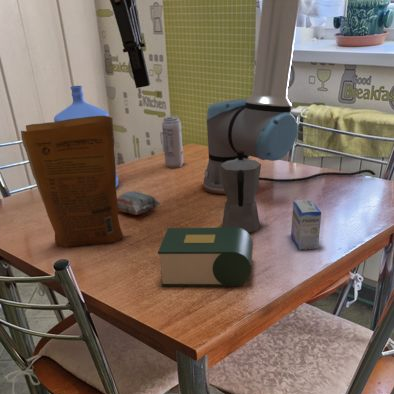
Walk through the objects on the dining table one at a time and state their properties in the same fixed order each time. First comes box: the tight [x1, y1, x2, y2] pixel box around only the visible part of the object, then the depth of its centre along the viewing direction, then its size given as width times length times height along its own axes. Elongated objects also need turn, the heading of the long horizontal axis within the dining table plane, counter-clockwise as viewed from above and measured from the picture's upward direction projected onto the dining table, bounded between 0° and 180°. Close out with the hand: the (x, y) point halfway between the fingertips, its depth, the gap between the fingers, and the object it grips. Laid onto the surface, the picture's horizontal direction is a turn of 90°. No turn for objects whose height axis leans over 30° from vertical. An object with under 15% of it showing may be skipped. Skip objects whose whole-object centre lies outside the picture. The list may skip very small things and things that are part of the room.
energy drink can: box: [161, 115, 184, 169], centre depth 169 cm, size 6×6×15 cm
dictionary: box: [157, 226, 254, 288], centre depth 106 cm, size 18×12×8 cm, turn 84°
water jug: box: [53, 85, 119, 188], centre depth 150 cm, size 16×16×28 cm
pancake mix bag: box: [20, 116, 124, 248], centre depth 116 cm, size 7×19×28 cm, turn 96°
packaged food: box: [117, 190, 161, 216], centre depth 138 cm, size 9×12×5 cm
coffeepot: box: [220, 151, 262, 234], centre depth 121 cm, size 15×9×18 cm, turn 176°
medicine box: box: [290, 199, 322, 251], centre depth 115 cm, size 8×4×9 cm, turn 5°
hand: (143, 86), depth 104 cm, fingers closed
